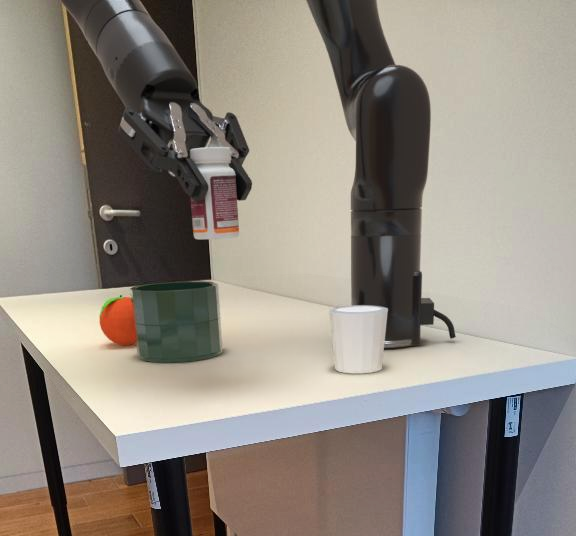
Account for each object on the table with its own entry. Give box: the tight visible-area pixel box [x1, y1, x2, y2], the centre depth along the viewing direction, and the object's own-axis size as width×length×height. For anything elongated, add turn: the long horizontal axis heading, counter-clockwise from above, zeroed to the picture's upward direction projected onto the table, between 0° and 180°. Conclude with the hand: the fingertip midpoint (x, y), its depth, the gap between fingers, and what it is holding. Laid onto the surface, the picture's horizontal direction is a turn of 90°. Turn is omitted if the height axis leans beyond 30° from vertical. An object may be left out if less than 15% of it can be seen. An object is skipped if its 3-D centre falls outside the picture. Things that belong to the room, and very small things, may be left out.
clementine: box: [99, 294, 136, 346], centre depth 109 cm, size 8×7×7 cm
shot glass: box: [328, 305, 388, 375], centre depth 89 cm, size 7×7×7 cm
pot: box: [129, 280, 223, 364], centre depth 101 cm, size 11×11×9 cm
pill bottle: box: [189, 146, 240, 240], centre depth 76 cm, size 5×5×8 cm
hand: (224, 194), depth 75 cm, fingers closed on pill bottle, 4 cm apart
